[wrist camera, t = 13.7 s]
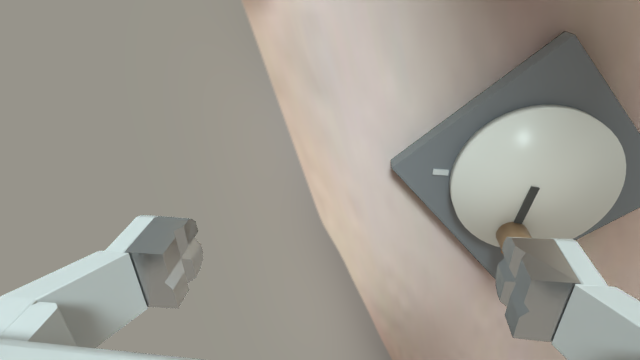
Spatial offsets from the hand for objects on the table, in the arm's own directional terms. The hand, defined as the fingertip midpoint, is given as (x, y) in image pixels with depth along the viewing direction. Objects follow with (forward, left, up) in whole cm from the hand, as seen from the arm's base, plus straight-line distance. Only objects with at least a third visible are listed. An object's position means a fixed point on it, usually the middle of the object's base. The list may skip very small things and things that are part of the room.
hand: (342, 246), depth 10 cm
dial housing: (-4, +22, -32) cm, 39 cm away
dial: (-4, +22, -29) cm, 37 cm away
